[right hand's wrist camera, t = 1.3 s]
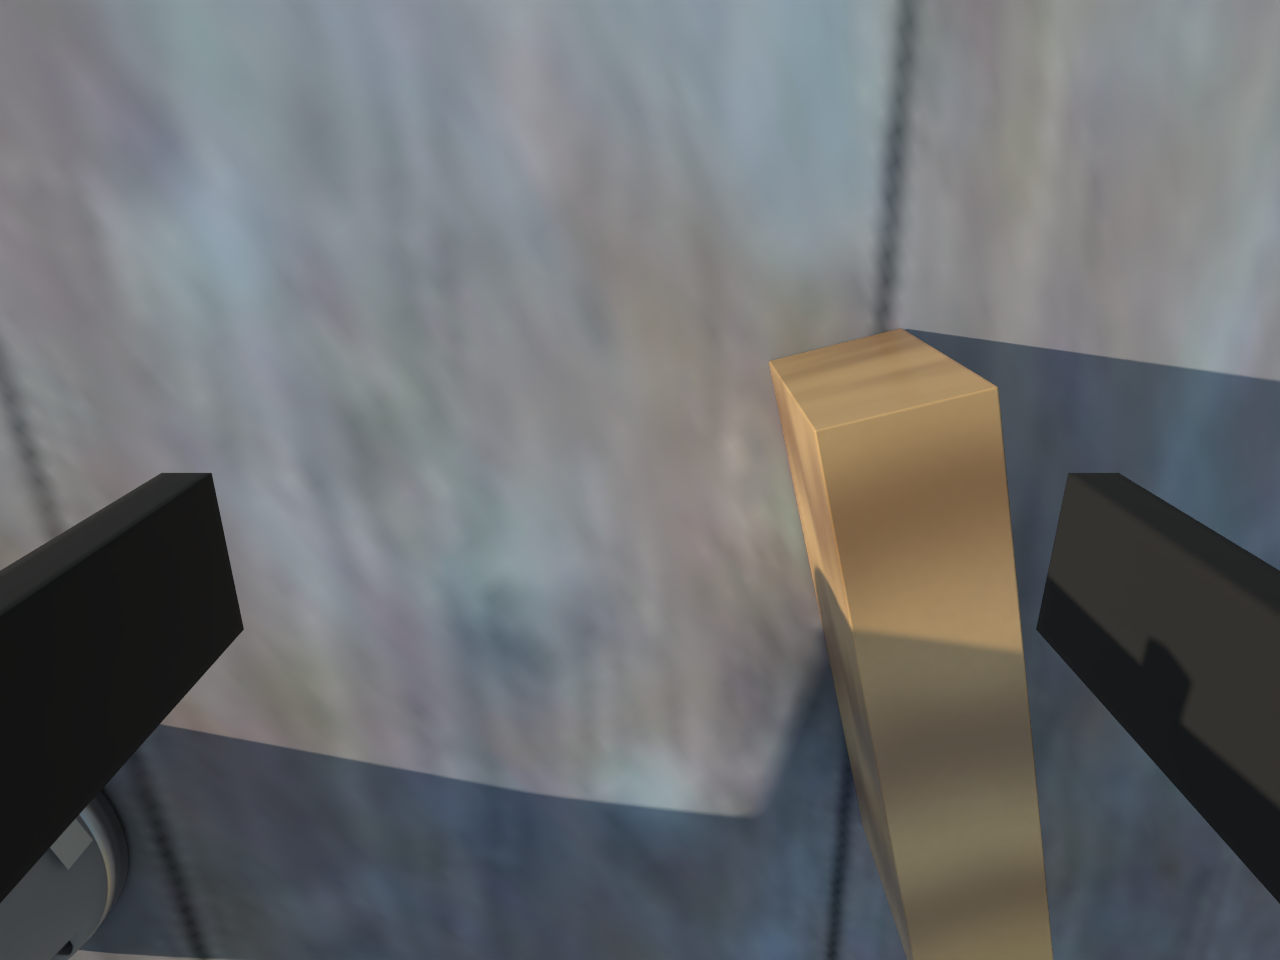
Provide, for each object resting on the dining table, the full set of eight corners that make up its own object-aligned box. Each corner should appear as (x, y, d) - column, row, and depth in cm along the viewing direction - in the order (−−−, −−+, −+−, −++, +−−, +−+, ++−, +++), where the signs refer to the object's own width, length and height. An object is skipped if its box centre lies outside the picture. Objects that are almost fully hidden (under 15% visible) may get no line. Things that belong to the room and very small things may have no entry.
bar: (768, 361, 29) (814, 430, 21) (902, 327, 28) (999, 386, 20) (862, 825, 37) (920, 1000, 29) (967, 805, 36) (1055, 978, 28)
